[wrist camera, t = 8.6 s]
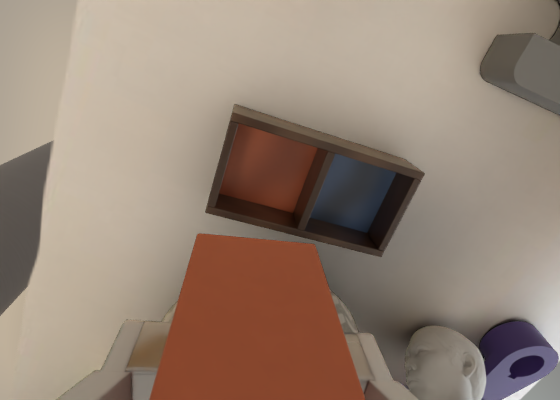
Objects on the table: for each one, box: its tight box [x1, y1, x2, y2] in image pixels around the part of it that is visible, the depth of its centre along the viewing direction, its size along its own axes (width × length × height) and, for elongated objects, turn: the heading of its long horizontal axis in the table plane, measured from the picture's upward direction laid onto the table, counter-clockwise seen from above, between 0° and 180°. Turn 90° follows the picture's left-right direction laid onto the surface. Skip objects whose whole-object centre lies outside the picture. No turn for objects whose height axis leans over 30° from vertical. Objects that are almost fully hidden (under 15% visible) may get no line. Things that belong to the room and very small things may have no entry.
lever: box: [480, 321, 558, 400], centre depth 38 cm, size 12×6×3 cm, turn 150°
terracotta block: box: [149, 233, 365, 400], centre depth 9 cm, size 4×4×6 cm
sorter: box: [205, 104, 425, 257], centre depth 27 cm, size 15×8×4 cm, turn 72°
